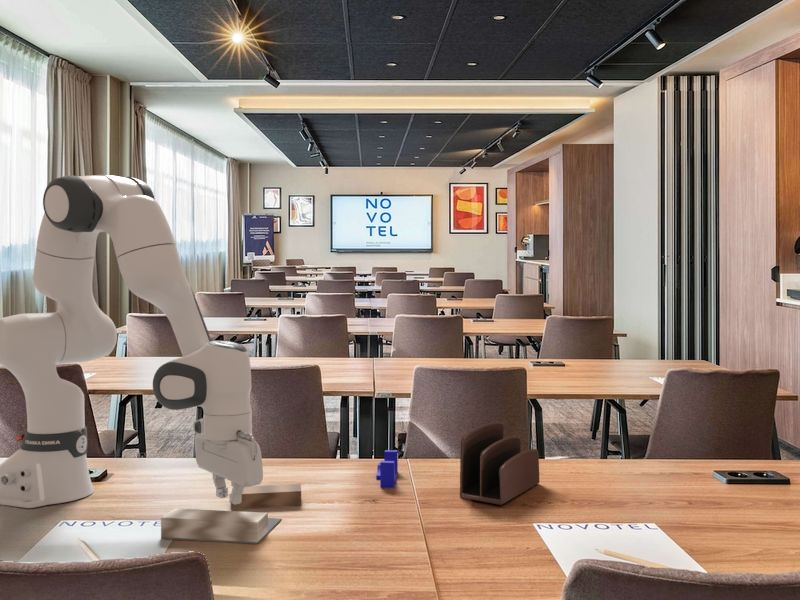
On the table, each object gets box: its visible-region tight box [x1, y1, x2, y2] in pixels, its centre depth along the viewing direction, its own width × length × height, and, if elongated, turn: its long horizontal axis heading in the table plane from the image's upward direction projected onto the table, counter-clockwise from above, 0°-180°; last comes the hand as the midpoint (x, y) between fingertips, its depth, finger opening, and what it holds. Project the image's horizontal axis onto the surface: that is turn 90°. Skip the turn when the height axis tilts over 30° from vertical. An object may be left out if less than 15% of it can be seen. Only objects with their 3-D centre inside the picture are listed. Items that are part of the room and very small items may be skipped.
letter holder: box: [459, 421, 540, 506], centre depth 160 cm, size 10×20×14 cm, turn 146°
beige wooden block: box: [160, 507, 269, 542], centre depth 131 cm, size 18×5×4 cm, turn 81°
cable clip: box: [375, 449, 399, 489], centre depth 167 cm, size 12×4×6 cm, turn 176°
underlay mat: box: [160, 517, 282, 545], centre depth 135 cm, size 18×13×1 cm
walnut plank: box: [230, 483, 302, 510], centre depth 150 cm, size 14×6×4 cm, turn 99°
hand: (228, 500), depth 138 cm, fingers open, 4 cm apart
